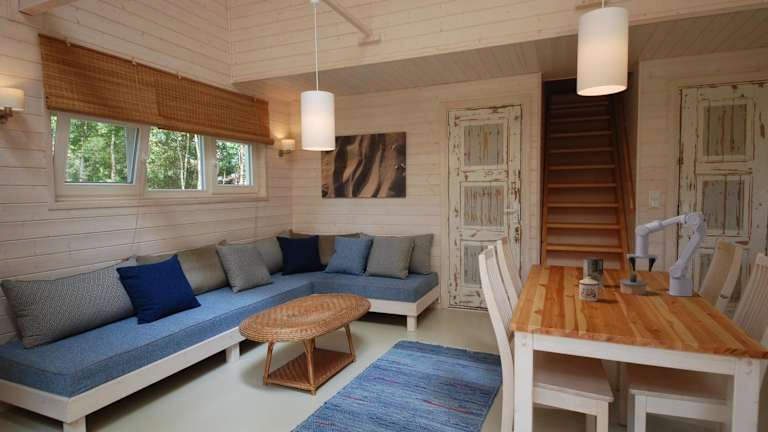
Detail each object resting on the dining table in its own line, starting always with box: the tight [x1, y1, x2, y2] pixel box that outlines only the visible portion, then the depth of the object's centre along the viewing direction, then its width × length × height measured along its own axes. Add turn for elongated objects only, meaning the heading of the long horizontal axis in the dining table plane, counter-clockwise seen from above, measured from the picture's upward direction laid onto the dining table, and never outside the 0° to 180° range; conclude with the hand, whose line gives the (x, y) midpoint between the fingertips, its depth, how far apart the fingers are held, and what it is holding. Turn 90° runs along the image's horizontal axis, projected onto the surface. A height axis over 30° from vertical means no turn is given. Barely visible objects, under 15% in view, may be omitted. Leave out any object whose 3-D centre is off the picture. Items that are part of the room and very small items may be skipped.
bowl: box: [619, 283, 647, 296], centre depth 234 cm, size 11×11×5 cm
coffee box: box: [582, 256, 604, 287], centre depth 250 cm, size 9×6×16 cm
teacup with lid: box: [578, 277, 606, 302], centre depth 220 cm, size 12×9×12 cm
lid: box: [619, 273, 648, 287], centre depth 234 cm, size 13×13×5 cm
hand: (641, 271), depth 241 cm, fingers open, 7 cm apart
